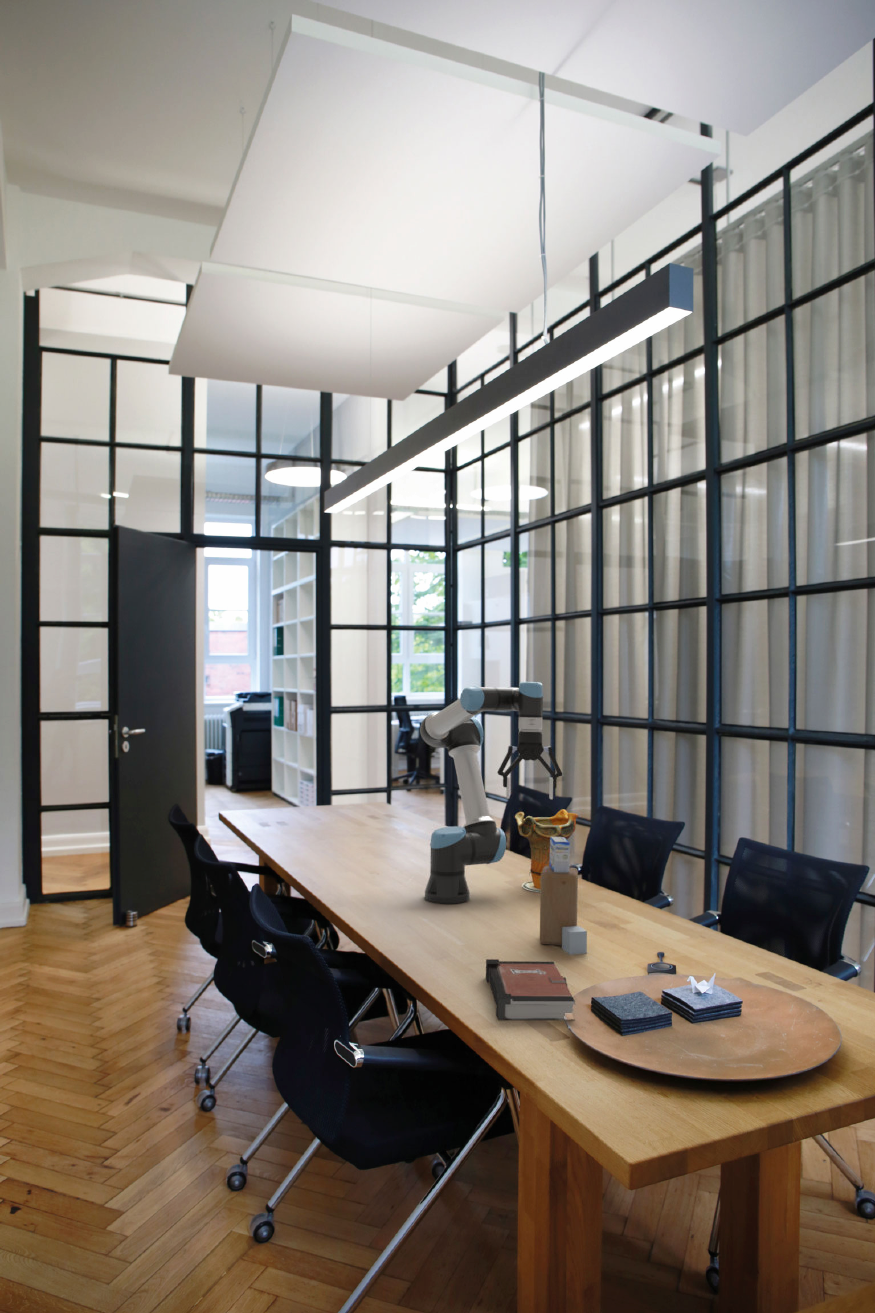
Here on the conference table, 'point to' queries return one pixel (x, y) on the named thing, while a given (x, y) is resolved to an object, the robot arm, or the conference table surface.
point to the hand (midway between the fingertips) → (529, 798)
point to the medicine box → (559, 855)
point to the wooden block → (557, 904)
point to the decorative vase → (543, 840)
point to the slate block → (574, 940)
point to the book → (528, 990)
